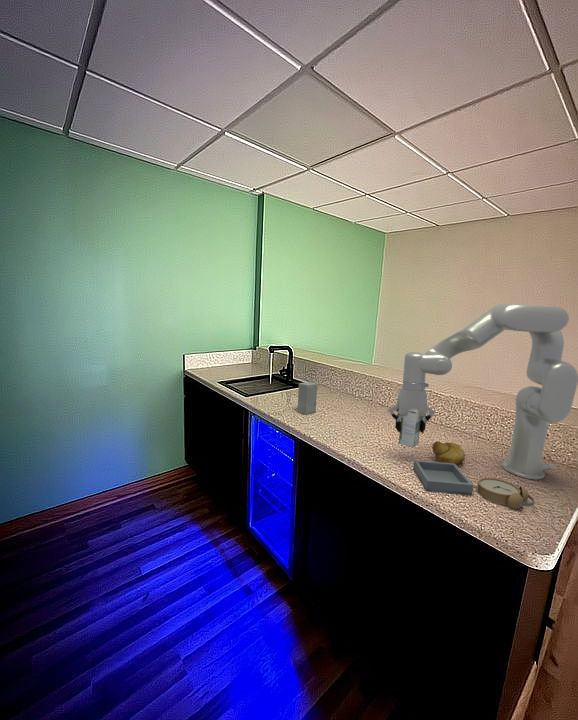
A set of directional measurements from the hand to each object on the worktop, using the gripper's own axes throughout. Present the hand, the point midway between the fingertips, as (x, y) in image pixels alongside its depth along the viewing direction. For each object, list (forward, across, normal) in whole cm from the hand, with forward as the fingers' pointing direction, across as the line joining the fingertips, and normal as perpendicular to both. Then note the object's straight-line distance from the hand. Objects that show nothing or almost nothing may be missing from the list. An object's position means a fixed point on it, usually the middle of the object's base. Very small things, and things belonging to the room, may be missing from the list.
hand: (409, 431), depth 121 cm
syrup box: (+5, 0, 0) cm, 5 cm away
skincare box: (+10, +40, -47) cm, 63 cm away
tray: (+12, -7, +15) cm, 20 cm away
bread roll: (+12, -16, -1) cm, 20 cm away
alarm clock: (+13, -23, +22) cm, 34 cm away
